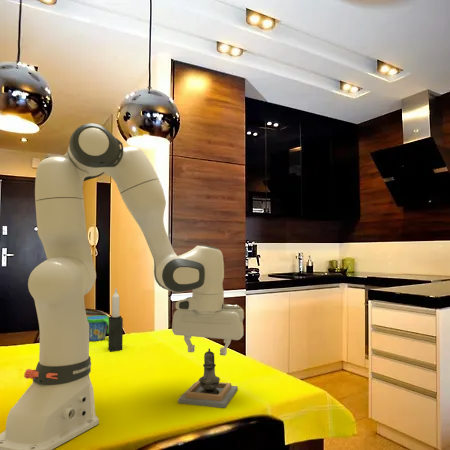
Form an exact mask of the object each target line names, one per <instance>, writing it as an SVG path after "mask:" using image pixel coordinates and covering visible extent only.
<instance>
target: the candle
mask: <svg viewBox="0 0 450 450" xmlns="http://www.w3.org/2000/svg"><path fill="white" fill-rule="evenodd" d="M111 298H112V299H111V316H109V334H107V335H108V336H107V337H108V339H107V340H108V342H107V343H108V345H107V347H108V348H107V349H108V350H109V352H112V353H113V352H120V350H121V351H123V341H124V340H123V336H124V335H123V328H124V327H123V326H124V325H123V323H124V322H123V321H124V318H123V317H122V315H120V295H119V293H118V288H114V293H113V295H112V296H111Z"/></svg>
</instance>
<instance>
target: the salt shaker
mask: <svg viewBox="0 0 450 450" xmlns="http://www.w3.org/2000/svg"><path fill="white" fill-rule="evenodd" d="M207 350H208V351H206V352H205V353H204V357H203V358H204V360H203V365H202V367H203V375H202V376H201V377H200V378H199V379H198V380H199V381H200V385H201V387H202V388H203V390H201V391H200V393H207V394H219V391H218V390H217V389H215V388H217V386H218V384H219V382H220V380H221V378H220V377H219V376H217V375H216V372H215V371H216V363H215V353H214V352H213V351H211V349H210V348H208V349H207Z"/></svg>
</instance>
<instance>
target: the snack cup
mask: <svg viewBox="0 0 450 450" xmlns="http://www.w3.org/2000/svg"><path fill="white" fill-rule="evenodd" d="M109 318H110V316H108V315H89V316H87V321H88V323H89V342H90V341H91V342H96V341H97V342H99V341H103V340H105V338H106V335H109Z"/></svg>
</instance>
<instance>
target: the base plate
mask: <svg viewBox="0 0 450 450" xmlns="http://www.w3.org/2000/svg"><path fill="white" fill-rule="evenodd" d="M238 388H239V387H238V385H232V383H230V382H223V381H222V382H220V381H219V384H218V386H217V388H215V389H217V390H218V391H219V394H207V393H200V391H201V390H203V388H202V387H201V385H200V381H199V379H198V380H197V381H196V382H194V383H193V384H192V385H191V386H190V387H189V388H188V389H187V390H186V391H185V392H184V393H182V395H180V397H179V398H177V403H178V404H185V405H192V406H193V405H195V406H200V407H201V406H202V407H211V408H220V409H226V407H227V406H228V405H229V404H230V402H231V400H232V399H233V397H234V396H235V394H236V393H237V391H238Z"/></svg>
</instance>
